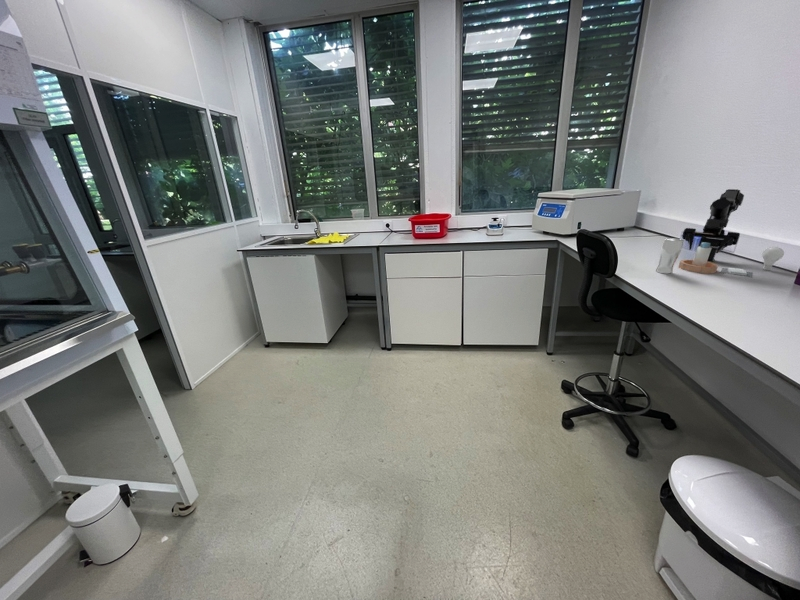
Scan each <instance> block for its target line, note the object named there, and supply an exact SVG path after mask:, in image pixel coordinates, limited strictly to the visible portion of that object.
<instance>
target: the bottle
mask: <svg viewBox="0 0 800 600" xmlns="http://www.w3.org/2000/svg"><path fill="white" fill-rule="evenodd" d="M710 244H711V243H707V242H702V243H701V246H699V245H698V246H697V247H696V250H695V252H694V257H693V259H692V260H693V262H692V264H691V265H695V266H701V267H705V266H706V263H707V262H708V261H707V260H708V257H709V255H710V252H711V249H712V248H711V247H710Z"/></svg>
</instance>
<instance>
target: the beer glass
mask: <svg viewBox="0 0 800 600" xmlns="http://www.w3.org/2000/svg"><path fill="white" fill-rule="evenodd" d="M684 241H685V239H683V238H682V239H681V238H676V237H674V238H673V237H665V238H664V240H663V242H662V244H661V248H660V252H659V261H658V265H657V266H656V268H655V272H656V273H659V274H663V273H664V275H665V274H666V275H672V274H673V270H674V266H675V263H676V261H677V259H679V256H680V254H681V253H682V252H681V251H682V249H683V245H684ZM671 273H672V274H671Z"/></svg>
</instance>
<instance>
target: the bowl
mask: <svg viewBox="0 0 800 600" xmlns="http://www.w3.org/2000/svg"><path fill="white" fill-rule="evenodd" d="M692 262H693V259H681V260H680V261H679V265H678V269H679V268H680V269H681V270H683V271H686V272H691V273H697V274H698V273H699V274H715V273H716V272H717V270H718V267H719V265H718V264H716V263H714V262H710V261H707V263H706V266H705V267H701V266H695V265H691V264H692Z"/></svg>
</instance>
